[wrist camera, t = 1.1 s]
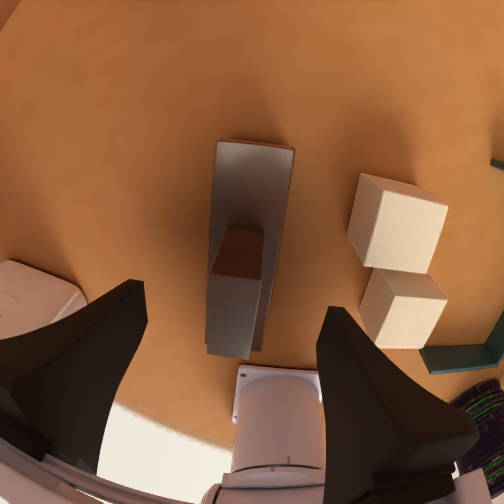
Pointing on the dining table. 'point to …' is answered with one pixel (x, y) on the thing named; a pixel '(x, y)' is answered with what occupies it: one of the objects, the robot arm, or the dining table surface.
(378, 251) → the cream white cube
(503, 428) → the storage jar
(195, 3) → the dining table surface
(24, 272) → the photo printer
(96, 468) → the robot arm
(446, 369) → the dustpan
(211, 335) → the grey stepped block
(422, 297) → the beige cube
